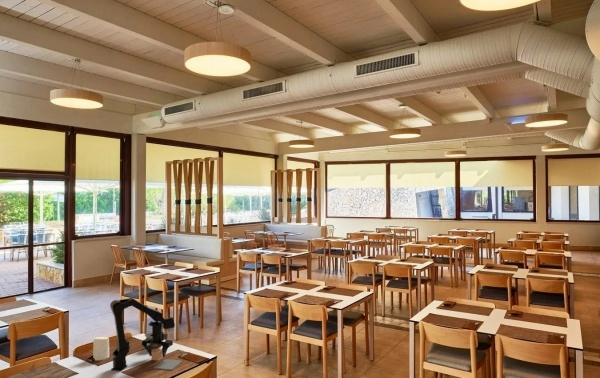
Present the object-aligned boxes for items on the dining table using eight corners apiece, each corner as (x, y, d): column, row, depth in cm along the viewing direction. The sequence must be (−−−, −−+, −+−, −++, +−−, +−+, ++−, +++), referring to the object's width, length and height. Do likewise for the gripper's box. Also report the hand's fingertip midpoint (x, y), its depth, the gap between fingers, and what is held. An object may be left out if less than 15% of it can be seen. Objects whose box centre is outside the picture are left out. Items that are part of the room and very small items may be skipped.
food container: (145, 350, 263) (144, 335, 263) (145, 347, 269) (144, 332, 269) (165, 347, 268) (164, 332, 268) (164, 344, 273) (164, 329, 273)
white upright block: (112, 354, 258) (111, 335, 258) (104, 360, 249) (103, 341, 249) (98, 354, 259) (98, 335, 259) (90, 360, 250) (89, 340, 250)
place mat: (153, 368, 237) (153, 367, 237) (165, 360, 248) (165, 359, 248) (171, 370, 234) (171, 369, 234) (182, 361, 245) (182, 360, 245)
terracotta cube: (151, 360, 249) (151, 351, 249) (156, 356, 254) (156, 348, 254) (158, 360, 248) (158, 352, 248) (163, 357, 253) (163, 349, 253)
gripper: (177, 328, 256) (178, 352, 256) (151, 326, 261) (152, 350, 261) (167, 334, 245) (167, 360, 245) (140, 332, 250) (141, 357, 250)
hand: (157, 356), depth 251 cm, fingers open, 9 cm apart
